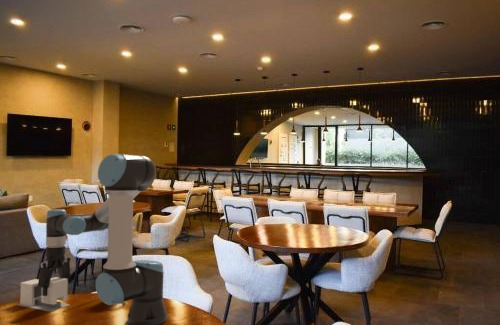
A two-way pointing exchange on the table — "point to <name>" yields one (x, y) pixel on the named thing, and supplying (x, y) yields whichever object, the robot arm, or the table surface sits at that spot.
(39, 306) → the board
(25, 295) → the fixed jaw
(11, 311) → the table surface
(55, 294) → the jaw block
